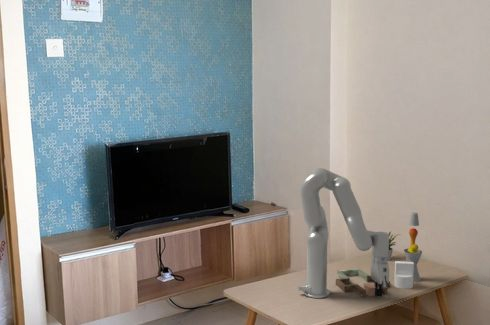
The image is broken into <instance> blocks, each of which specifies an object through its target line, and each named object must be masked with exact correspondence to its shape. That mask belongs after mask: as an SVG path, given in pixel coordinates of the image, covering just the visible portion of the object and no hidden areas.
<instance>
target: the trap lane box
mask: <svg viewBox="0 0 490 325" xmlns="http://www.w3.org/2000/svg"><path fill="white" fill-rule="evenodd" d="M353 276H358V277H359V278H361V279H363V280H364V281H365V282H366V283H374V281H373V279H372V278H371V274H367V273H366V272H364V271H363V270H361V268H354V269H353V268H351V269H343V270H337V278H336V279H335V286H337V287H338V288H339V289H341V291H343V292H344V293H351V292H356V293H358V294H359V295H360V296H362V297H363V298H365V297H367V293H366V290H365V289H364V287H362V286H361V285H359V284H358V283H354V284H351V278H350V277H353ZM390 287H391V281H390V280H389V284H387V283H386V287H384V288H383V295H388V288H390Z"/></svg>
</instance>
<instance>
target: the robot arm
mask: <svg viewBox="0 0 490 325" xmlns="http://www.w3.org/2000/svg"><path fill="white" fill-rule="evenodd" d="M323 188H325V189H327V190H329V191H332V194H333V196H334V198H335V201H336V203H337V205H338V207H339V209H340V212H341V215H342V216H343V219H344V221H345V223H346V226H347V228H348V231H349V233H350V235H351V238H352V239H353V242H354V244H355V246H356V248H357V249H358V250H360V251H362V252H366V251H369V250H371V266H370V275H371V278H372V279H373V281H374V285H375V287H376V288H375V295H374V296H375V297H377V298H379V297H383V295H384V294H383V288H384V287H386V283H387V284H389V281H390V267H389V260H388V252H389V238H390V236H389V235H388V234H389V233H388V232H387V233H386V232H385V231H372V230H367V228H366V225H365V221H364V219H363V214H362V210H361V208H360V205H359V203H358V201H357V199H356V197H355V194H354V192H353V189H352V188H351V182H350V181H349V179H347V178H346V177H344V176H341V175H340V174H337V173H334V172H332V171H330V170H327V169H325V168H323V167H317V168H314V169H313V171H312V172H311V174H310V175H308V176H307V177H306V178H305V179H304V181H303V182H302V184H301V187H300V198H301V204H302V206H301V207H302V212H303V219H304V222H305V224H306V226H307V229H308V235H307V239H306V282H305V283H304V285H303V286H297V287H296V290H297V291H301V292H302V293H303V294H304V296H306V297H309V298H313V299H323V298H326V297H329V296H330V294H331V291H330V290H329V289H328V286H327V284H328V283H327V280H328V242H329V228H328V223H327V217H326V216H327V215H326V211H325V209H324V207H323V206H322V205H321V199H320V191H321V189H323Z"/></svg>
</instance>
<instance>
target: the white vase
mask: <svg viewBox="0 0 490 325" xmlns="http://www.w3.org/2000/svg"><path fill="white" fill-rule="evenodd" d="M413 270H414V263H413V262H407V261H398V260H396V261H394V283H393V285H394V287H396V288H398V289H403V290H409V289H413V287H414V282H413Z"/></svg>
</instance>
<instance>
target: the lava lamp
mask: <svg viewBox="0 0 490 325" xmlns="http://www.w3.org/2000/svg"><path fill="white" fill-rule="evenodd" d="M419 222H420V221H419V214H418V212H411V214H410V218H409V222H408V223H409V224H408V225H409V226H412V227H413V228H410V229H409V230H408V234H409V237H410V244H409V247H408V248H404V249H403V252H404V253H403V254H404V255H405V256H404V257H405V259H406V262H413V263H414V270H413V283H418V282H420V281H421V276H420V273H419V270H418V263H419V261H420V258H421V256H422V253H423V251H422V250H421V249H419V246H418V244H416V239H417V237H418V235H419V234H418V232H419V231H418V229H416V228H414V227H419V226H420V223H419Z"/></svg>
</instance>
